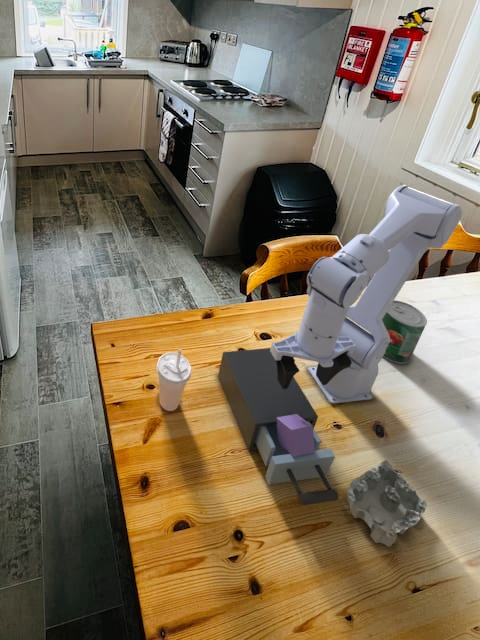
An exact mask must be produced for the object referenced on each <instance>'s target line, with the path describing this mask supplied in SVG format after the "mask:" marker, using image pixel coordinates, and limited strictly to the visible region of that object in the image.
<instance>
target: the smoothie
mask: <svg viewBox="0 0 480 640" xmlns="http://www.w3.org/2000/svg"><path fill="white" fill-rule="evenodd" d="M156 372H157V375H158V395H159V396H158V398H159V406H161V408H162V409H164V410H165V411H167V412H173V411H175V410H177V409H178V407H179V404H180V402H181V399H182V396H183V394H184V390H185V388H186V386H187V383H188V382H189V380H190V378H191V376H192V366H191V364H190V361H189V360H188V358H186V357H185V356H184V355H182V348H178V349H177V352H166V353H163V354H162V355H161V356H159V358H158V360H157V364H156Z"/></svg>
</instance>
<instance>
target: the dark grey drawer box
mask: <svg viewBox="0 0 480 640" xmlns="http://www.w3.org/2000/svg"><path fill="white" fill-rule="evenodd" d="M270 349H271V347H270V348H269V347H267V348H254V349H244V350H233V351H223V352H222V355H221V360H220V365H219V369H218V374H217V378H218V380H219V383H220V386H221V388H222V390H223V393H224V395H225V398H226V400H227V403H228V405H229V408H230V410H231V412H232V415H233V416H234V419H235V422H236V424H237V426H238V429H239V431H240V433H241V436H242V438H243V442H244V443H245V447H246V448H247V451H255V450H258V447H257V445H256V443H255V440H256V436H257V433H258V429H259V427H260V426H268V425H276V424H277V417H282V416H288V415H294V414H297V415H299V416H300V417H301V418H303V419H304V420H305V421H310V423H311V425H312V426H313V428H314V429H315V427H316V424H317V422H318V419H319V416H318V413H317V412H316V411H315V409H314V408H313V406H312V404H311V403H310V401H309V399H308V397H307V396H306V394H305V392H304V390H303V389H302V388H301V386H300V384H299V382H298V381H297V380H296V378H295V375H294V376H293V378H292V380H291V382H290V385H289V387H288V388H287V389H282V387H281V385H280V383H279V382H278V380H277V364H276V360H275V359H274V357H273V355H272V353H271V352H270Z"/></svg>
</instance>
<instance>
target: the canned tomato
mask: <svg viewBox="0 0 480 640" xmlns="http://www.w3.org/2000/svg"><path fill="white" fill-rule="evenodd" d="M382 321H383V324H384V326H385V328H386V330H387V332H388V334H389V336H390V342H389V344H388V346H387V348H386V351H385V354H384V356H383V357H382V358H383V359H385V360H387V361H389V362H391V363H394V364H399V365H402V364H407V363H409V362H410V361H411V358H412V356H413V354H414V352H415V349H416V347H417V345H418V343H419V341H420V339H421V337H422V334H423V332H424V330H425V328H426V326H427V324H428V319H427V317H426V316H425V314H424V313H423V312H421V310H419V309H418V308H416V307H415V306H413V305H412V304H409V303H407V302H404V301H401V300H395V299H394V301H393V302H392V304H391V306H390V307H389V309H388V310H387V312H386V314H385V315H384V317H383V318H382Z"/></svg>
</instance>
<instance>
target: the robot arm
mask: <svg viewBox="0 0 480 640" xmlns="http://www.w3.org/2000/svg"><path fill="white" fill-rule="evenodd" d="M384 215H385V216H384V217H383V218H382V219H381V221H379V222H378V224H376V226H375V227H374V228H373V229H372V230H371V232H369V234H367V233H359V234H357V235H355V237H353V238H352V239H351V240H350V241H349V242H347V243H346V244H345V245H344V246H343V247H342V248H340V249H339V250H338V251H336V253H334V254H333V255H332V256H327V257H326V256H322V257H320V258H318V259H317V260H316V261H315V262H314V264H313V265H312V266H311V268H310V269H309V272H308V274H307V276H306V284H307V290H306V294H307V296H308V299H307V302H306V305H305V309H304V310H303V311H304V312H303V315H302V319H301V322H300V324H299V327H298V331H297V332H296V333H294V334H291V335H290V336H287V337H285V338H284V339H282V340H280V341H275V342H271V346H270V348H271V349H270V352H271V353H272V355H273V357H274V359H275V360H276V364H277V380H278V382H279V383H280V385H281V387H282V389H287V388H288V387H289V385H290V382H291V380H292V378H293V376H294V377H295V375H296V374H298V373H299V372H301V371H300V369H299V367H298V365H297V364H296V363H295V362H296V359H300V360H304V361H305V360H306V361H310V362H316V363H318V364H317V366H310V367H309V366H308V369H307V370H308V372H309V374H310V375H311V376H312V378H313V379H314V381H315V382H316V384H317V386H318V387H319V389H320V391H322V393H323V395H324V396H325V398H326V399H327V401H328V402H329V403H330V404H340V403H350V402H359V401H367V400H372V399H373V395H372V394H371V391H372V388H373V387H374V384H375V382H376V379H377V377H378V375H379V364H380V362H381V361H382V359H383V358H384V357H383V356H384V354H385V351H386V348H387V346H388V344H389V342H390V336H389V334H388V332H387V330H386V328H385V326H384V324H383V321H382V318H383V317H384V315H385V314H386V312H387V310H388V309H389V307H390V306H391V304H392V302H393V301H394V300H395V299H396V298H397V296H398V295H399V293H400V291H401V290H402V288H403V287H404V285H405V283H406V282H407V280H408V278H409V277H410V275H411V274H412V272H413V271H414V269H415V267H416V266H417V264H418V263H419V261H420V259H421V258H422V256H424V254H426V252H427V251H428V250H429V249H442V248H443V247H444V245H446V244H448V243H447V242H448V241H449V239H450V238H451V236H452V235H453V234H454V232H455V230H456V228H457V227H458V225H459V223H460V221H461V218H462V216H463V209H462V206H461V205H460V204H457V203H455V204H454V203H452V202H449V201H446V200H444V199H441V198H438V197H436V196H434V195H431V194H428V193H426V192H422V191H420V190H418V189H414V188H413V187H409V186H408V185H406V184H402V185H400V186H398V187H396V188H395V189H393V191H392V192H391V194H390V195H389V197H388V199H387V201H386V205H385V213H384ZM370 279H371V280H370ZM354 304H355V305H354ZM294 358H296V359H294Z"/></svg>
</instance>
